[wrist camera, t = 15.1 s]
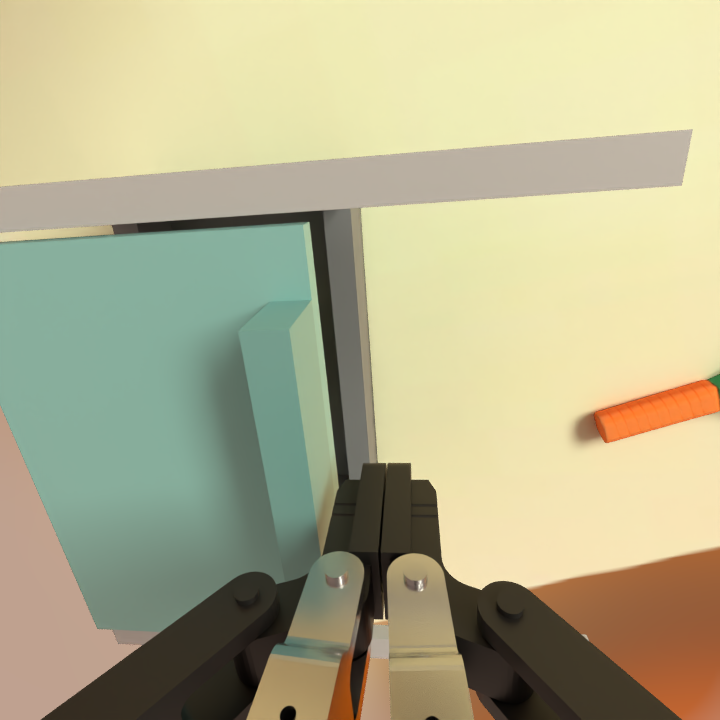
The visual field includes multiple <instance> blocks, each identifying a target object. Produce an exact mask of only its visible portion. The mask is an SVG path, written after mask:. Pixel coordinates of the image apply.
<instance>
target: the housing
mask: <svg viewBox="0 0 720 720" xmlns="http://www.w3.org/2000/svg"><path fill="white" fill-rule="evenodd" d="M692 130H693V129H691V130H679V131H667V132H655V133H643V134H631V135H619V136H607V137H595V138H583V139H571V140H559V141H547V142H535V143H523V144H511V145H499V146H487V147H475V148H463V149H451V150H438V151H426V152H414V153H402V154H390V155H378V156H366V157H354V158H342V159H330V160H318V161H306V162H294V163H282V164H270V165H258V166H246V167H234V168H222V169H210V170H198V171H186V172H173V173H161V174H149V175H137V176H125V177H113V178H101V179H89V180H77V181H65V182H53V183H41V184H29V185H17V186H5V187H0V232H15V231H29V230H44V229H58V228H73V227H87V226H102V225H112V227H113V231H114V234H115V235H116V234H131V233H146V232H161V231H176V230H191V229H207V228H222V227H237V226H252V225H267V224H282V223H298V222H309V223H310V232H311V241H312V250H313V259H314V268H315V277H316V286H317V295H318V304H319V313H320V322H321V331H322V340H323V349H324V358H325V367H326V376H327V385H328V394H329V404H330V413H331V422H332V431H333V440H334V449H335V458H336V467H337V476H338V485H339V488H340V486H341V485H342V484H343V483H344V482H345V480H346V479H350V480H360V477H361V471H362V465H363V463H378V461H377V446H376V431H375V416H374V401H373V387H372V372H371V357H370V342H369V328H368V313H367V298H366V283H365V269H364V254H363V239H362V224H361V209H360V208H363V207H378V206H392V205H407V204H421V203H436V202H450V201H465V200H479V199H494V198H508V197H523V196H537V195H552V194H566V193H581V192H595V191H610V190H624V189H639V188H653V187H668V186H682V182H683V176H684V171H685V166H686V161H687V156H688V151H689V145H690V140H691V135H692ZM113 632H114V635H115V637H116V640H117V642H118V644H133V645H144V644H145V643H146V642H148V641H149V640H150V639H152V638H153V637H154V636H156V635H157V634H159V633H160V632H148V631H129V630H113ZM582 636H584V637H585V638H586V639H587V640H588V638H587V635H582ZM588 641H589V640H588ZM370 658H381V659H382V658H383V659H389V627H388V625H373V635H372V640H371V655H370Z"/></svg>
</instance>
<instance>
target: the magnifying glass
mask: <svg viewBox="0 0 720 720" xmlns="http://www.w3.org/2000/svg"><path fill="white" fill-rule="evenodd" d="M718 411H720V374H719V375H717V376H715V377H712V378H710V379H708V380H701V381H698V382H695V383H691V384H688V385H685V386H681V387H678V388H675V389H671V390H668V391H665V392H661V393H658V394H655V395H651V396H648V397H645V398H641V399H638V400H635V401H631V402H628V403H625V404H621V405H617V406H615V407H611V408H608V409H605V410H601V411H598V412H596V413H595V414H594V418H595V421H596V426H597V429H598V431H599V433H600V435H601V437H602V439H603V440H604V442H605V443H609V442H613V441H617V440H620V439H623V438H627V437H630V436H634V435H637V434H640V433H644V432H648V431H651V430H655V429H658V428H661V427H666V426H669V425H672V424H676V423H679V422H683V421H687V420H690V419H693V418H698V417H701V416H704V415H708V414H712V413H715V412H718Z"/></svg>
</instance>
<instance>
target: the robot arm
mask: <svg viewBox="0 0 720 720" xmlns="http://www.w3.org/2000/svg"><path fill="white" fill-rule="evenodd" d="M384 606H385V619H387V620H388V627H389V680H390V681H389V682H390V714H391V715H390V716H391V720H474V717H473V711H472V706H471V700H470V695H469V689H468V688H470V689H472V690H475V691H476V693H477V696H478V697H479V700H480V701H481V703H482V704H483V705H484V707H485V708H486V709H487V710H488V711H489V712H490V714H491V715H492V716H493V718H494V719H495V720H682V719H680V718H679V717H678V716H677V715H676V714H675V713H673V712H672V711H671V710H670V709H669V708H667V707H666V706H665V705H664V704H663V703H662V702H660V701H659V700H658V699H657V698H656V697H654V696H653V695H652V694H651V693H650V692H649V691H647V690H646V689H645V688H644V687H643V686H641V685H640V684H639V683H638V682H637V681H636V680H634V679H633V678H632V677H631V676H630V675H628V674H627V673H626V672H625V671H624V670H623V669H621V668H620V667H619V666H618V665H617V664H615V663H614V662H613V661H612V660H611V659H610V658H608V657H607V656H606V655H605V654H604V653H603V652H601V651H600V650H599V649H597V647H595V646H594V645H593V644H592V643H591V642H589V641H588V640H587V639H586V638H585V637H584V636H582V635H581V634H580V633H579V632H578V631H577V630H575V629H574V628H573V627H572V626H571V625H569V624H568V623H567V622H566V621H565V620H564V619H562V618H561V617H560V616H558V614H556V613H555V612H554V611H553V610H552V609H551V608H549V607H548V606H547V605H546V604H545V603H543V602H542V601H541V600H540V599H539V598H538V597H536V596H535V595H534V594H533V593H532V592H530V591H529V590H528V589H526V588H525V587H523V586H521V585H519V584H516V583H513V582H508V581H498V582H493V583H490V584H489V585H487V586H485V587H484V588H483V589H482V590H480V589H476V588H473V587H470V586H468V585H465V584H463V583H461V582H459V581H457V580H456V579H454V578H453V577H452V576H451V575H450V574H449V573H448V572H447V570H446V569H445V567H444V565H443V562H442V558H441V546H440V533H439V521H438V509H437V496H436V491H435V489H434V488H433V486H432V485H431V483H430V482H429V480H411V463H388V465H387V466H386V463H363V465H362V471H361V477H360V480H350V479H346V480H345V482H344V483H343V484H342V485H341V486H340V488H339V489H338V490H337V493H336V497H335V502H334V506H333V510H332V516H331V519H330V524H329V528H328V532H327V537H326V541H325V545H324V550H323V554H322V557H320V558H319V559H317V560H316V561H315V562H314V564H313V565H312V567H311V569H310V571H309V573H308V574H306V575H304V576H302V577H300V578H297V579H294V580H290V581H287V582H283V583H279V584H276V583H275V581H274V579H273V578H272V577H271V576H269V575H268V574H266V573H263V572H256V571H255V572H248V573H244V574H241V575H239V576H237V577H236V578H234V579H232V580H231V581H230V582H228V583H227V584H226V585H224V586H223V587H221V588H220V589H219V590H217V591H216V592H215V593H213V594H212V595H211V596H209V597H208V598H206V599H205V600H204V601H202V602H201V603H200V604H198V605H197V606H195V607H194V608H193V609H191V610H190V611H189V612H187V613H186V614H185V615H183V616H182V617H180V618H179V619H178V620H176V621H175V622H174V623H172V624H171V625H170V626H168V627H167V628H165V629H164V630H163V631H161V632H160V633H159V634H157V635H156V636H154V637H153V638H152V639H150V640H149V641H148V642H146V643H145V644H144V645H142V646H141V647H140V648H138V649H137V650H135V651H134V652H133V653H131V654H130V655H129V656H127V657H126V658H124V659H123V660H122V661H120V662H119V663H118V664H116V665H115V666H113V667H112V668H111V669H109V670H108V671H107V672H105V673H104V674H103V675H101V676H100V677H98V678H97V679H96V680H94V681H93V682H92V683H90V684H89V685H87V686H86V687H85V688H83V689H82V690H81V691H79V692H78V693H77V694H75V695H74V696H72V697H71V698H70V699H68V700H67V701H66V702H64V703H63V704H62V705H60V706H59V707H57V708H56V709H55V710H53V711H52V712H51V713H49V714H48V715H46V716H45V717H44V718H42V719H41V720H360V718H361V711H362V706H363V698H364V693H365V686H366V680H367V674H368V668H369V661H370V655H371V640H372V635H373V623H374V619H383V611H384Z"/></svg>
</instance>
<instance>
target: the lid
mask: <svg viewBox="0 0 720 720" xmlns="http://www.w3.org/2000/svg"><path fill="white" fill-rule="evenodd" d="M0 406H1V408H2V410H3V413H4V415H5V417H6V420H7V422H8V424H9V426H10V429H11V431H12V433H13V436H14V438H15V440H16V443H17V445H18V447H19V450H20V452H21V454H22V456H23V459H24V461H25V463H26V465H27V468H28V470H29V473H30V475H31V477H32V479H33V482H34V484H35V486H36V489H37V491H38V493H39V496H40V498H41V500H42V502H43V505H44V507H45V509H46V512H47V514H48V516H49V519H50V521H51V523H52V525H53V528H54V530H55V532H56V534H57V537H58V539H59V542H60V544H61V546H62V548H63V551H64V553H65V555H66V558H67V560H68V562H69V565H70V567H71V569H72V571H73V574H74V576H75V578H76V581H77V583H78V585H79V588H80V590H81V592H82V594H83V597H84V599H85V601H86V604H87V606H88V608H89V610H90V613H91V615H92V617H93V620H94V622H95V624H96V627H97V629H110V630H111V629H112V630H129V631H148V632H161V631H163V630H164V629H165V628H167V627H168V626H170V625H171V624H172V623H174V622H175V621H176V620H178V619H179V618H180V617H182V616H183V615H185V614H186V613H187V612H189V611H190V610H191V609H193V608H194V607H195V606H197V605H198V604H200V603H201V602H202V601H204V600H205V599H206V598H208V597H209V596H211V595H212V594H213V593H215V592H216V591H217V590H219V589H220V588H221V587H223V586H224V585H226V584H227V583H228V582H230V581H231V580H232V579H234V578H236V577H237V576H239V575H241V574H244V573H248V572H255V571H256V572H263V573H266V574H268V575H269V576H271V577H272V578H273V579H274V581H275V583H276V584H279V583H283V582H287V581H290V580H294V579H297V578H300V577H302V576H304V575H306V574H308V573H309V571H310V569H311V567H312V565H313V564H314V562H315V561H316V560H317V559H319V558H320V557H322V554H323V550H324V545H325V541H326V537H327V532H328V528H329V524H330V519H331V516H332V510H333V506H334V502H335V497H336V493H337V490H338V489H339V485H338V476H337V467H336V458H335V449H334V440H333V431H332V422H331V413H330V404H329V394H328V385H327V376H326V367H325V358H324V349H323V340H322V331H321V322H320V313H319V304H318V295H317V286H316V277H315V268H314V259H313V250H312V241H311V232H310V223H309V222H298V223H282V224H267V225H252V226H237V227H222V228H207V229H191V230H176V231H161V232H146V233H131V234H116V235H100V236H85V237H70V238H55V239H40V240H25V241H9V242H0Z"/></svg>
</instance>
